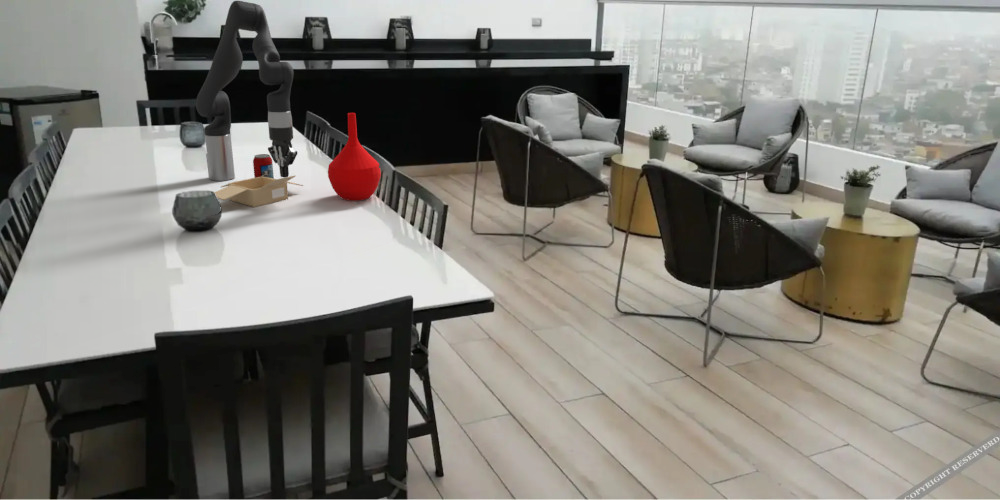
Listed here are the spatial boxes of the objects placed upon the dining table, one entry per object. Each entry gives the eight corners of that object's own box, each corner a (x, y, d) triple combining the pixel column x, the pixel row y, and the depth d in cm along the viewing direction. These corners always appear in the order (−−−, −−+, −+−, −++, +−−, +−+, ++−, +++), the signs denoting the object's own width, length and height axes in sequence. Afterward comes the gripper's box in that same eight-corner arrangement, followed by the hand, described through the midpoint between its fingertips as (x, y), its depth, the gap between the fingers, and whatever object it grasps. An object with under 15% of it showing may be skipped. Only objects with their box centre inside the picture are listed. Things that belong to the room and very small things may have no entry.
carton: (214, 196, 261) (213, 179, 259) (268, 184, 278) (267, 168, 277) (254, 207, 248) (252, 190, 246) (308, 194, 266) (307, 178, 264)
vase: (390, 193, 268) (387, 111, 258) (365, 206, 252) (362, 119, 242) (346, 189, 274) (342, 108, 264) (319, 201, 257) (313, 115, 248)
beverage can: (268, 190, 270) (266, 157, 266) (252, 188, 271) (248, 156, 268) (277, 185, 276) (275, 154, 273) (261, 184, 278) (258, 153, 274)
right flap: (231, 185, 252) (231, 185, 253) (208, 194, 246) (208, 195, 246) (247, 189, 247) (247, 190, 248) (224, 199, 241) (224, 200, 241)
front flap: (273, 180, 242) (273, 181, 242) (295, 175, 249) (295, 176, 249) (259, 188, 248) (259, 189, 248) (281, 183, 255) (281, 184, 255)
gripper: (302, 125, 239) (306, 178, 244) (277, 121, 246) (281, 172, 252) (283, 128, 233) (287, 182, 239) (258, 124, 241) (262, 175, 246)
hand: (284, 176), depth 245 cm, fingers closed
